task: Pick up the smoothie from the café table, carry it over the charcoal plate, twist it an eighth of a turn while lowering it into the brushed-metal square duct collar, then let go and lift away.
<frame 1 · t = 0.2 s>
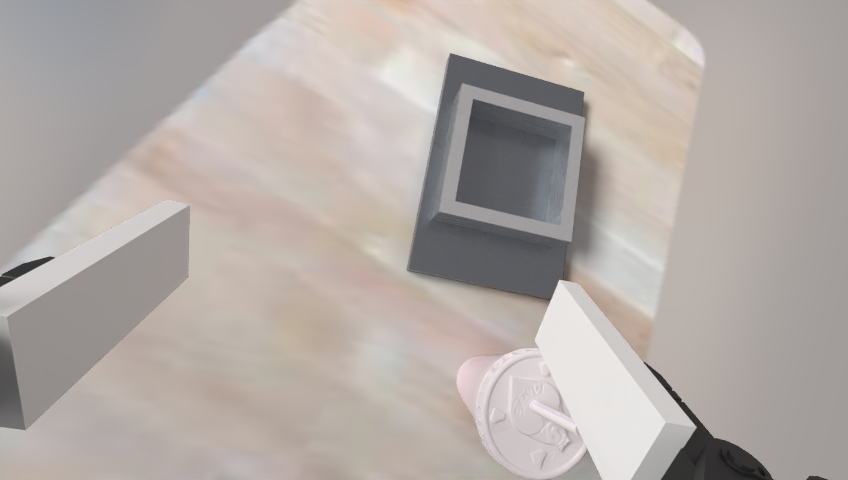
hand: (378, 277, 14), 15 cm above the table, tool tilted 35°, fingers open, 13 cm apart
duct collar: (499, 177, 33), on the table
smoothie: (479, 381, 30), on the table
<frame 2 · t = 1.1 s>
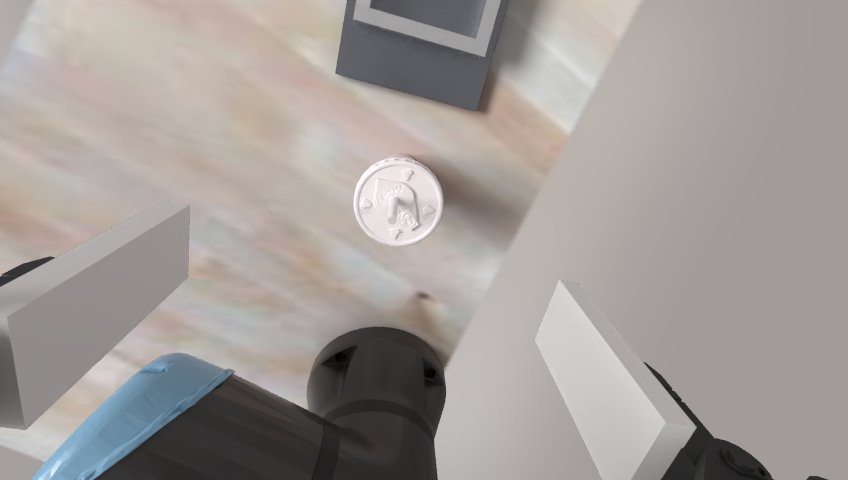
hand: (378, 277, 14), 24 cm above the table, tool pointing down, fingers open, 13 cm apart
smoothie: (400, 173, 37), on the table
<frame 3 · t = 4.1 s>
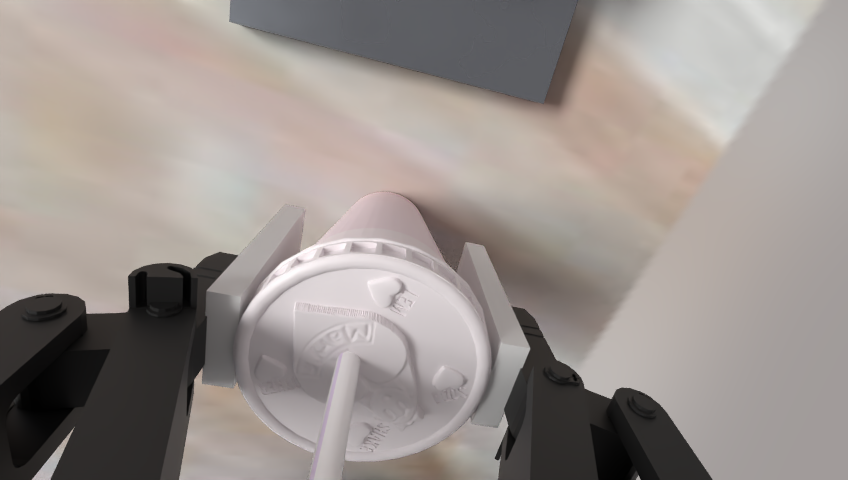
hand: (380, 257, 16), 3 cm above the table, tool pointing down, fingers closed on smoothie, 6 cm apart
smoothie: (384, 228, 19), on the table, touching gripper
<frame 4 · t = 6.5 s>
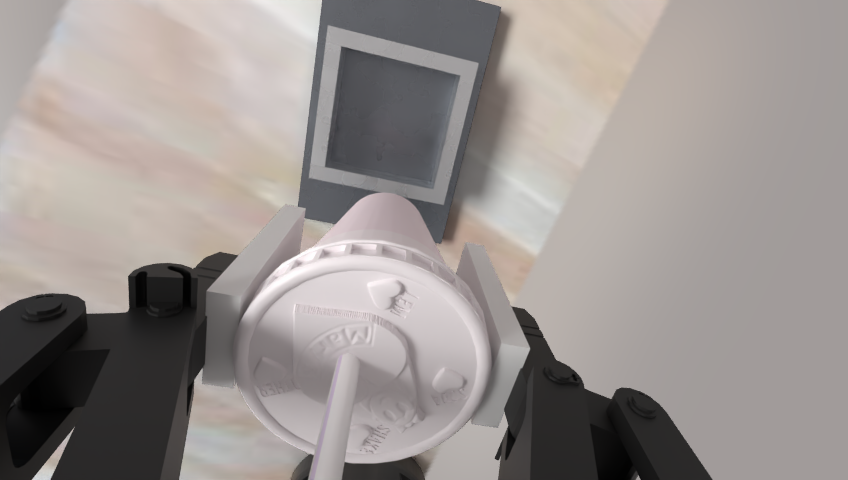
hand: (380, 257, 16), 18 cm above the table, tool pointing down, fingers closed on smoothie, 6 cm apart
duct collar: (391, 118, 31), on the table
smoothie: (384, 229, 19), point 15 cm above the table, touching gripper
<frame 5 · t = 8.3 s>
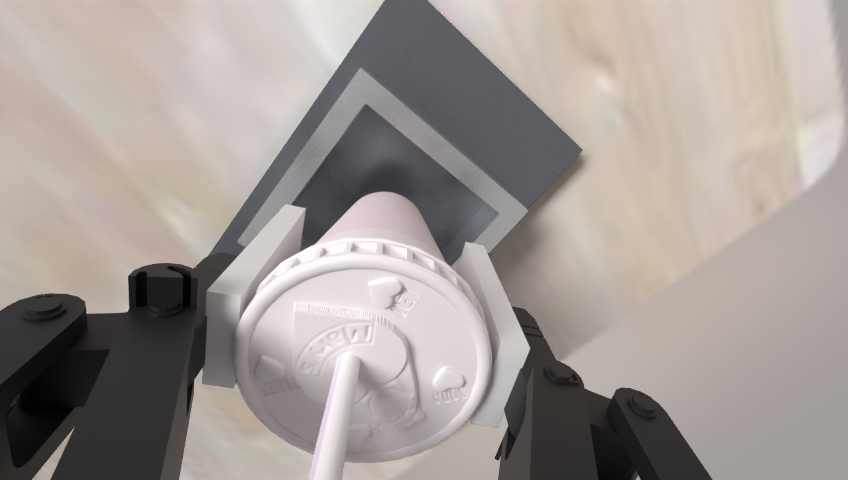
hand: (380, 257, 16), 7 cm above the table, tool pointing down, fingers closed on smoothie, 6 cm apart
duct collar: (386, 204, 23), on the table
smoothie: (385, 228, 19), point 4 cm above the table, touching gripper
when the fingers open (5 cm above the table, at t = 9.3 s): smoothie drops 1 cm, resting on duct collar.
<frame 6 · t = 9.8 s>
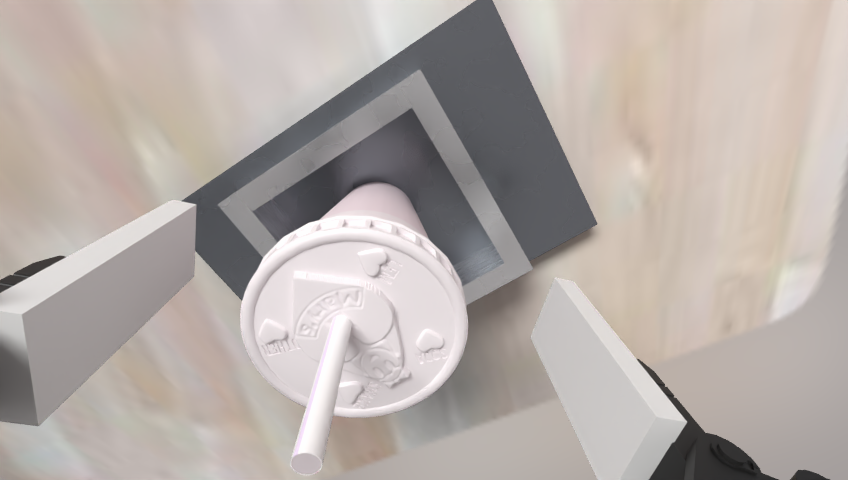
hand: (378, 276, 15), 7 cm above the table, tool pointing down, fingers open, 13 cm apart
duct collar: (386, 213, 21), on the table
smoothie: (378, 216, 20), point 1 cm above the table, touching duct collar
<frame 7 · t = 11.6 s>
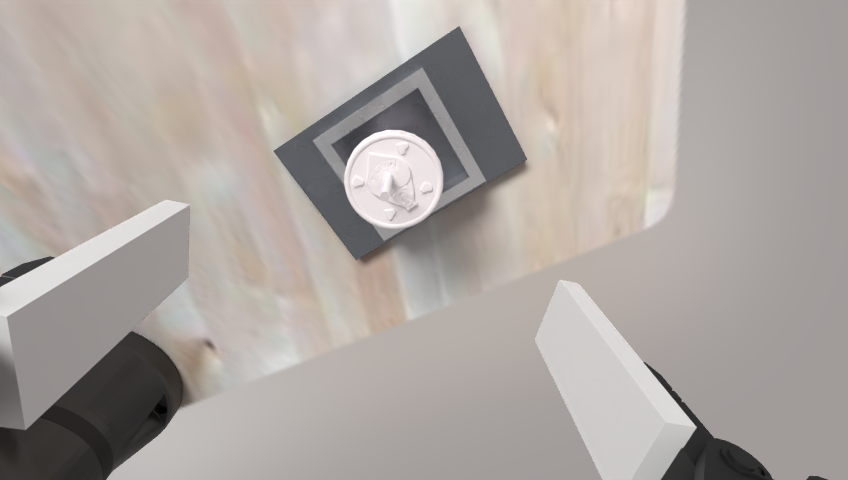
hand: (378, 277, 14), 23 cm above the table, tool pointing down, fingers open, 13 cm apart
duct collar: (402, 153, 35), on the table
smoothie: (397, 153, 35), point 1 cm above the table, touching duct collar
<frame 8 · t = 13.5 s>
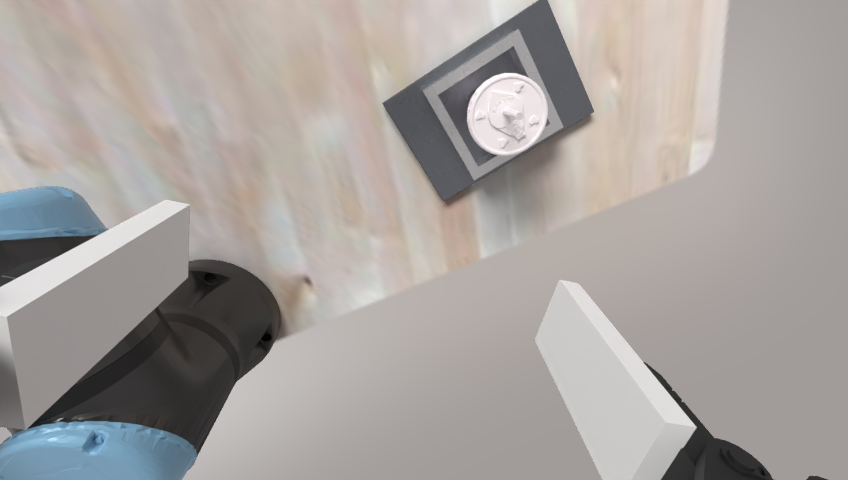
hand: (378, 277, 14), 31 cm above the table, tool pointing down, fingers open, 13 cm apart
duct collar: (488, 106, 42), on the table
smoothie: (485, 106, 41), point 1 cm above the table, touching duct collar
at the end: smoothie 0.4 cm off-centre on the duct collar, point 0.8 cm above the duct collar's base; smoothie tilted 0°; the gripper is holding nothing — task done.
